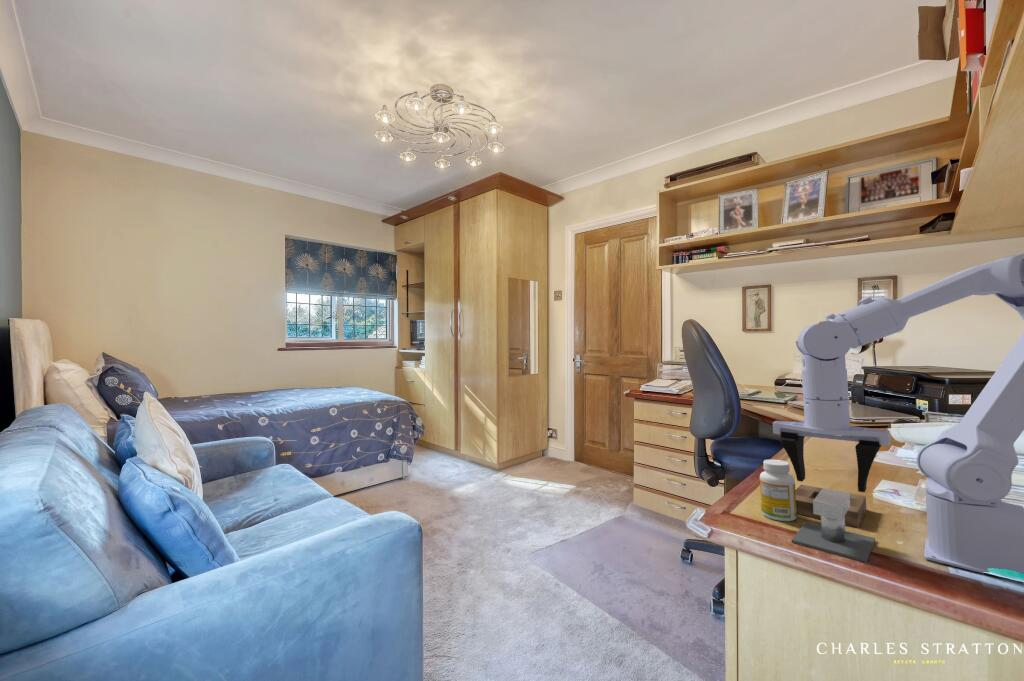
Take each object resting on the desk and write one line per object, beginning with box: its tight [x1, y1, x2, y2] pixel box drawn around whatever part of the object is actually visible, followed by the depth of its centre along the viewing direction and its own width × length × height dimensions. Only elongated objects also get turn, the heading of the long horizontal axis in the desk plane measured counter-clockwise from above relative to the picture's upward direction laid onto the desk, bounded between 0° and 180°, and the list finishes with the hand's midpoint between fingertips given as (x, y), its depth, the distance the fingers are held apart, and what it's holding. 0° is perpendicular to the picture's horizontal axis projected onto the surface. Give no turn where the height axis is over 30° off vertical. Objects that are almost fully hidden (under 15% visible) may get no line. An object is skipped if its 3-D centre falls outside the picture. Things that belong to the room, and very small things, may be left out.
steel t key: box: [813, 487, 851, 543], centre depth 64 cm, size 7×4×6 cm, turn 133°
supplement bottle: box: [759, 459, 798, 522], centre depth 74 cm, size 5×5×10 cm
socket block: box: [795, 484, 867, 528], centre depth 76 cm, size 10×10×2 cm
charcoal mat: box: [791, 521, 876, 563], centre depth 64 cm, size 9×9×1 cm
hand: (830, 484), depth 64 cm, fingers open, 7 cm apart
